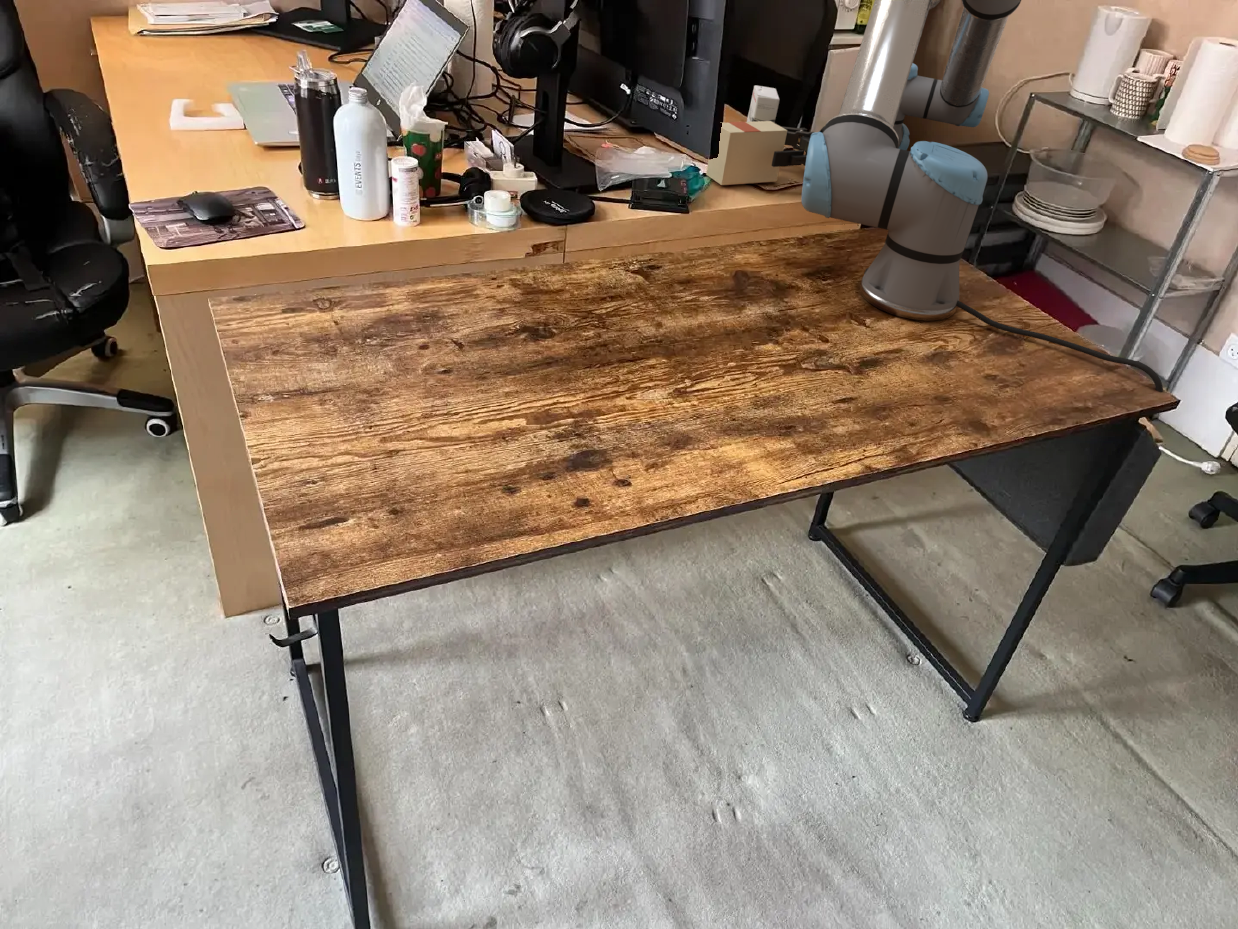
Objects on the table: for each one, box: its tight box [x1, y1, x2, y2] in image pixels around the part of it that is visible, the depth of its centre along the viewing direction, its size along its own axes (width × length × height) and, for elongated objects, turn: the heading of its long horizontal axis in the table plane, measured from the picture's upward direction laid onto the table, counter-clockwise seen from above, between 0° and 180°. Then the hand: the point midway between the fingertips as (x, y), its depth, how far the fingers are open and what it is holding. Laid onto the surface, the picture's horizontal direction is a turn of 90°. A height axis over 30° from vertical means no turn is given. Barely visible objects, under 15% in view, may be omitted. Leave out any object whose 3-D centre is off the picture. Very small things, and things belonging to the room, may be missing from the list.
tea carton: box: [705, 121, 787, 186], centre depth 176 cm, size 13×6×10 cm, turn 116°
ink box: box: [746, 84, 780, 124], centre depth 193 cm, size 8×5×12 cm, turn 179°
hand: (754, 147), depth 176 cm, fingers open, 13 cm apart
